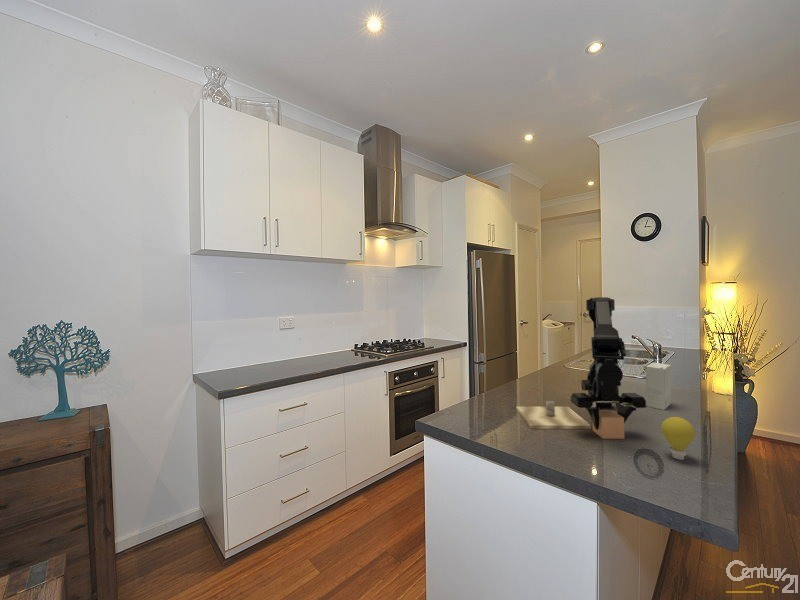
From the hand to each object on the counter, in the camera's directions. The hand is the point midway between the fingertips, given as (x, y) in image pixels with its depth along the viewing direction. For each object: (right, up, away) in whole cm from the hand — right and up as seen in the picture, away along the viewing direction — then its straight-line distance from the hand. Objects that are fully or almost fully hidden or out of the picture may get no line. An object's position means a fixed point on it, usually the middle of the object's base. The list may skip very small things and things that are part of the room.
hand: (607, 429), depth 102 cm
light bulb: (+9, -2, -15) cm, 17 cm away
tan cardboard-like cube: (0, -2, 0) cm, 2 cm away
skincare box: (+32, 0, +23) cm, 40 cm away
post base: (-11, -2, +14) cm, 18 cm away
